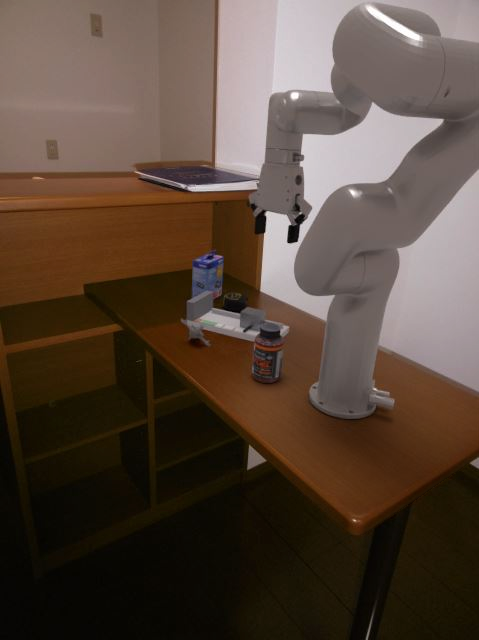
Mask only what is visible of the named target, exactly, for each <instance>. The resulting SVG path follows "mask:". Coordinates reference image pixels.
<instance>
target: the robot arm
mask: <svg viewBox="0 0 479 640" xmlns="http://www.w3.org/2000/svg"><path fill="white" fill-rule="evenodd" d="M331 48H332V49H331V50H332V58H333V59H332V60H333V63H334V64H333V66H332V68H331V72H330V87H331V90H332V92H329V91H317V90H306V89H304V90H303V89H291V90H290V89H289V90H287V91H285V92H284V91H283V92H274V93H272V94H271V95H270V97H269V100H268V109H267V122H266V124H267V125H266V135H265V136H266V138H265V149H264V150H265V151H264V163H262V165H261V168H260V173H259V179H258V186H257V190H255V191H253V192H251V193H249V194H248V200H249V203H250V209H251V210H252V215H253V216H254V217H255V220H254V231H253V232H254V235H263V234H265V233H266V229H267V215H265V214H267V212H268V213H269V212H270V213H275V214H278V215H284V216H286V217H287V219H288V220H289V222H290V224H289V225H288V227H287V237H286V238H287V239H286V243H287V244H294V243H295V244H296V243H298V241H299V238H300V231H301V225H303V224H304V222H305V221H306V220H307V219H308V218H309V215H310V214H311V212H312V210H313V205H311V204H310V203H309V202H308V201H307V200H306V199H305V175H304V167H303V166H301V162H304V160H305V155H304V154H302V147H303V136H304V135H321V136H322V135H323V136H335V135H340V134H342V133H345V132H347V131H349V130H351V129H353V128H355V127H357V126H358V125H360V124H362V122H363V121H365V119H366V117H367V116H368V114H369V112H370V111H371V108H372V105H373V104H374V105H376V106H377V107H379V108H380V109H381V110H383V111H385V112H387V113H389V114H391V115H394V116H395V115H396V116H400V117H406V118H423V119H435V120H437V119H438V120H443V121H442V122H441V123H440V124H439V125H438V126H437V127H436V128H434V130H432V131H431V132H429V133H428V134H426V135H425V136H424V137H422V138H421V139H420V140H419V141H418V142H416V143H415V144H414V145H413V146H412V147H411V148H410V149H409V150H408V152H407V153H406V154H405V155H404V157H403V159H402V160H401V161H400V163H399V165H398V166H397V167H396V169H395V170H394V172H393V173H392V174H391V175H390V176H389V177H388V178H387V179H385V180H383V181H380V182H374V183H373V182H370V183H369V182H365V183H364V182H363V183H361V182H360V183H359V182H358V183H357V182H356V183H351V184H349V183H348V184H345V185H343V186H340V187H339V188H337V189H335V190H334V191H333V192H332V193H331V194H329V195H328V196H327V198H326V199H325V200H324V203H323V204H322V205H321V207H320V209H319V211H318V212H317V214H316V215H315V218H314V220H313V221H312V223H311V225H310V226H309V228H308V231H306V234H305V236H304V237H303V239H302V241H301V243H300V245H299V246H298V250H297V251H296V254H295V257H294V264H293V274H294V280H295V282H296V284H297V286H298V288H300V290H301V291H302V292H304V293H306V294H307V295H309V296H313V297H327V296H333V297H332V299H331V302H330V304H329V306H328V310H327V315H326V321H325V329H324V335H323V344H322V350H321V360H320V368H319V376H318V381H316V382H314V383H313V384H312V385H310V387H309V390H308V400H309V401H310V404H312V406H314V407H315V408H316V409H317V410H318V411H320V412H322V413H324V414H326V415H328V416H331V417H335V418H337V419H338V418H340V419H346V420H353V419H354V420H355V419H363V418H366V417H368V416H371V415H372V414H373V413H374V412H375V410H376V408H377V406H380V407H382V408H385V409H388V410H393V408H394V404H395V398H391V397H390V396H391V395H390V394H391V393H390V391H386V390H380V389H378V387H376V386H375V384H376V379H373V376H374V369H375V364H376V359H377V354H378V349H379V348H378V347H379V344H380V337H381V331H382V328H383V323H384V317H385V312H386V308H387V304H388V302H389V301H388V300H389V298H390V294H391V292H392V290H393V287H394V285H395V282H396V280H397V277H398V274H399V270H400V261H401V258H400V255H399V251H398V249H403V248H407V247H408V246H411V245H412V244H414V243H415V242H416V241H417V240H419V239H420V238H421V236H422V235H423V234H424V233H425V232H426V231H427V229H428V228H430V227H431V225H432V224H433V223H434V221H435V220H436V219H437V218H438V217H439V215H440V214H441V213H442V212H443V211H444V210H445V208H447V206H448V205H449V204H450V203H451V202H452V201H453V199H454V197H456V195H457V194H458V193H459V191H460V190H461V189H462V188H463V187H464V185H465V184H466V183H467V182H468V181H469V180H470V179H471V178H472V177H473V176H474V175H475V174H476V173H477V172H478V171H479V42H478V41H471V40H466V39H465V40H463V39H457V38H451V37H444V36H442V34H441V31H440V28H439V26H438V24H437V22H436V21H435V19H434V18H432V17H431V16H430V15H428V14H427V13H425V12H423V11H420V10H417V9H414V8H413V9H412V8H408V7H402V6H399V5H397V6H396V5H392V4H386V3H380V2H375V1H371V2H370V1H366V2H362V3H359V4H358V5H356V6H354V7H353V8H352V9H350V10H349V11H348V12H347V13H346V14H345V15H344V16H343V17H342V19H341V21H340V22H339V23H338V26H337V27H336V30H335V33H334V35H333V40H332V47H331Z"/></svg>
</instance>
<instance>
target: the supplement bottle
mask: <svg viewBox="0 0 479 640" xmlns="http://www.w3.org/2000/svg"><path fill="white" fill-rule="evenodd" d="M280 330H281V328H280V326H279V325H277V324H273V323H265V324H262V325H261V327H260V333H259V334H258V335H257V336H256V337H255V341H254V343H253V357H252V369H251V375H252V377H253V379H255V381H258V382H259V383H264V384H272V383H276V382H277V381H280V378H281V377H282V376H281V375H282V367H283V357H284V347H285V339H284V337H282V336H281V335H280Z"/></svg>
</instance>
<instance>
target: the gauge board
mask: <svg viewBox="0 0 479 640" xmlns="http://www.w3.org/2000/svg"><path fill="white" fill-rule="evenodd" d="M186 322H187V324H188V325H190V326H191V325H194V326H196V327H198V326H199V324H200V323H201V322H202V323H201V325H202V326H203V327H204V326H205V327H204V328H203V329H202V330H205V331H208V332H211V333H212V332H213V333H217V334H220V335H224V336H228V337H232V338H236V339H241V340H246V341H249V342H252V343H253V342H254V341H255V337H256V336H257V335H258V334H259V333H260V330H259V331H255V330H250V329H249V330H247V331H246V332H243V330H244V329H246V328H242V327H240V313H238V312H232V311H230V310H228V311H227V310H225V309H220V308H215V307H214V299H213V292H212V291H205V292H203V293H201V294H199V295H198V296H196V297H194V298H192V297H191V299H188V300H186ZM265 323H273V324H277V325H279V326H280V328H281V330H280V335H281V336H282V337H283V338H284V337H285V336H287V334H289V332H290V326H288V325H285V324H284V323H281V322H278V321H277V322H276V321H273V320H269V319H265ZM191 327H192V326H191Z"/></svg>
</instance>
